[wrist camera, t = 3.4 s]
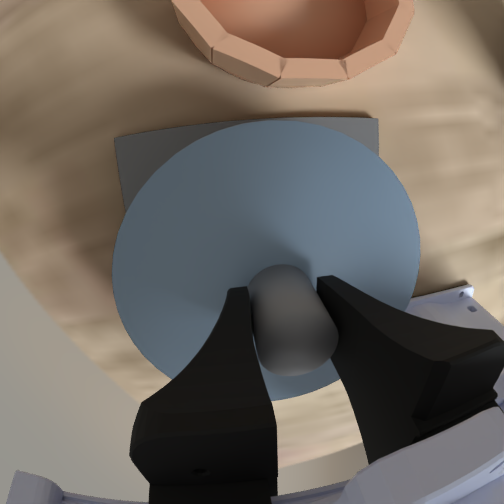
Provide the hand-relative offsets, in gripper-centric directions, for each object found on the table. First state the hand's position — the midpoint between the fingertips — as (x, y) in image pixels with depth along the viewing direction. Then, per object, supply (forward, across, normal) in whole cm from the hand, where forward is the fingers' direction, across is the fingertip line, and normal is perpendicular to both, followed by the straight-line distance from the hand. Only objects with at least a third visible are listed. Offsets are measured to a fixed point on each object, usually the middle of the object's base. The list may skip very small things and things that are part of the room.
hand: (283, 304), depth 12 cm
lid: (+1, 0, 0) cm, 1 cm away
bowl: (+6, -2, -13) cm, 14 cm away
